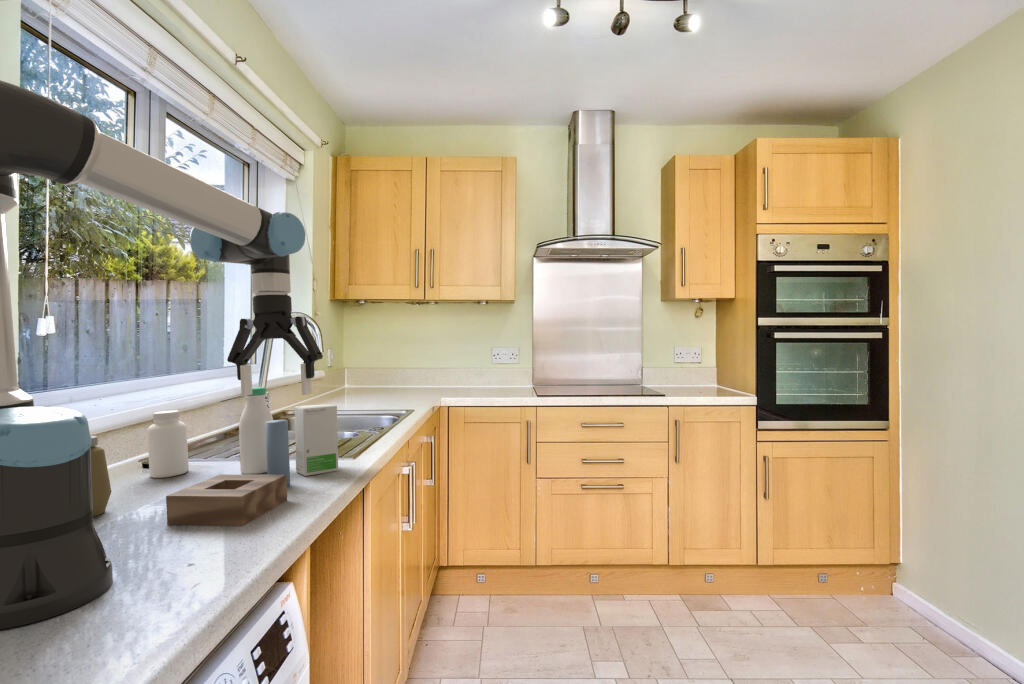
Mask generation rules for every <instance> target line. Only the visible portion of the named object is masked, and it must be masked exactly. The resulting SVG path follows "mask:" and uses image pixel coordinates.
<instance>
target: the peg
mask: <svg viewBox="0 0 1024 684" xmlns="http://www.w3.org/2000/svg"><path fill="white" fill-rule="evenodd" d="M265 428H266V453H267V472H266V473H267V474H266V475H286V482H287V489H288V488H289V487H291V470H290V469H291V467H290V448H289V447H290V443H289V442H290V441H289V420H288V419H273V420H272V421H267V422H265Z"/></svg>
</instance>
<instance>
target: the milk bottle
mask: <svg viewBox="0 0 1024 684" xmlns="http://www.w3.org/2000/svg"><path fill="white" fill-rule="evenodd" d="M266 394H267V389H266V387H261V386H258V387H257V386H256V387H252V395H248V396H244V399H245V405H244V408H243V411H242V413H241V415H240V418H239V422H238V436H239V437H238V438H239V439H238V442H239V465H240V466H239V467H240V473H241V475H261V474H265V473H267V453H266V428H265V422H267V421H272V420H274V418H273V415H272V412H271V410H270V409H269V407H268V405H267V402H266V396H267V395H266Z"/></svg>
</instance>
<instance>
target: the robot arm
mask: <svg viewBox="0 0 1024 684" xmlns="http://www.w3.org/2000/svg"><path fill="white" fill-rule="evenodd" d="M17 174H19V175H29V176H35V177H40V178H43V179H47V180H50V181H53V182H55V183H57V184H59V185H63V186H70V185H73V184H77V183H78V184H81V185H84V186H87V187H89V188H90V189H95V190H96V191H98V192H102V193H104V194H106V195H109V196H112V197H114V198H117V199H120V200H122V201H125V202H128V203H130V204H133V205H135V206H138V207H141V208H144V209H145V210H148V211H151V212H153V213H155V214H158V215H161V216H163V217H167V218H169V219H171V220H173V221H176V222H179V223H181V224H184V225H186V226H189V227H192V229H191V231H190V235H189V239H190V241H189V242H190V243H189V245H190V248H191V250H192V253H193V254H194V256H195V257H196V258H198V259H200V260H203V261H210V262H212V263H218V262H219V263H227V264H229V263H230V264H242V265H249V266H250V274H251V275H250V276H251V277H250V278H251V293H253V294H254V295H253V297H252V311H253V315H254V318H253V319H251V318H240V320H239V328H238V331H237V334H236V336H235V339H234V341H233V344H232V346H231V349H230V352H229V353H228V357H227V359H226V360H227V362H228V363H232V364H234V365H236V373H237V376H236V377H237V380H238V381H240V390H241V391H240V392H241V394H240V395H241V397H245V396H248V395H252V388H253V377H252V376H253V375H252V374H253V373H252V364H250V363H249V361H250V360H251V359H252V357H253V356H254V354H255V353H256V351H257V350H258V349H259V347H260V346H261V344H262V343H263V342H264V341H265V340H269V339H282V340H284V341H285V342H286V343H287V344H288V346H290V347H291V349H292V350H293V351H294V352H295V353H296V354H297V355H298V357H299V358H300V359H301V360H302V361H303V362H302V363H300V381H301V382H300V384H301V385H300V386H301V395H302V396H304V395H311V394H312V393H313V391H312V379H313V378H315V375H316V374H315V363H316V361H319V360H321V359H323V357H324V356H323V353H322V352H321V349H320V348H319V346H318V344H317V341H316V339H315V338H314V336H313V334H312V333H311V332H312V331H311V330H310V329H309V327H308V321H307V317H306V316H301V315H299V316H296V317H292V312H293V311H292V310H293V309H292V307H293V306H292V297H291V296H290V295H289V294H290V293H291V291H292V289H291V270H290V268H291V267H290V266H291V265H290V262H291V261H290V255H293V254H297V253H298V252H299V251H301V250H302V249H303V247H304V245H305V240H306V230H305V229H306V228H305V227H304V225H303V224H304V223H303V222H302V221H301V220H300V218H298V217H297V216H296V215H295V214H293V213H291V212H285V211H284V212H280V211H277V212H274V213H272V212H270V211H269V212H268V211H267V210H264V209H262V208H261V207H258V206H256V205H253V204H252V203H250V202H247V201H245V200H243V199H242V198H239V197H237V196H235V195H233V194H231V193H229V192H227V191H224V190H223V189H220V188H218V187H216V186H214V185H212V184H210V183H208V182H206V181H204V180H201V179H199V178H198V177H195V176H193V175H192V174H189V173H187V172H185V171H183V170H181V169H179V168H177V167H174V166H173V165H170V164H169V163H166V162H164V161H162V160H160V159H158V158H156V157H153V156H151V155H150V154H147V153H146V152H144V151H141V150H139V149H138V148H135V147H133V146H131V145H129V144H126V143H125V142H123V141H121V140H118V139H117V138H114V137H112V136H110V135H108V134H106V133H104V132H102V131H100V129H99V127H98V126H97V124H96V121H94V120H93V119H92V118H91V117H88V116H86V115H84V114H82V113H79V112H77V111H76V110H74V109H73V108H72V109H71V108H70V107H67V106H66V105H64V104H61V103H58V102H57V101H55V100H52V99H50V98H49V97H45V96H43V95H41V94H40V93H36V92H34V91H31V90H28V89H26V88H23V87H21V86H18V85H16V84H13V83H10V82H6V81H3V80H0V630H1V631H2V630H5V629H10V628H15V627H20V626H24V625H28V624H33V623H37V622H39V621H43V620H47V619H49V618H52V617H55V616H56V617H57V616H58V615H61V614H64V613H66V612H69V611H71V610H74V609H76V608H79V607H81V606H82V605H84V604H87V603H89V602H91V601H93V600H95V599H96V598H98V597H99V596H100V595H102V594H104V593H105V592H106V591H107V590H108V589H109V588H110V587H111V586H112V584H113V580H114V579H113V578H114V577H113V564H112V561H111V560H110V558H109V557H108V556H107V553H106V551H105V548H104V545H103V543H102V541H101V539H100V537H99V534H98V532H97V530H96V528H95V525H94V516H93V502H92V473H91V442H92V440H91V436H92V434H91V433H90V427H89V422H88V418H87V417H86V415H85V414H83V413H82V412H80V411H78V410H76V409H72V408H67V407H62V406H61V407H59V406H58V407H57V406H50V407H46V406H41V405H40V406H35V405H34V404H35V403H34V397H33V396H31V395H30V394H28V393H27V392H25V391H24V390H23V389H21V388H20V387H19V385H18V373H17V362H16V348H15V347H16V346H15V337H14V334H15V333H14V324H13V323H14V322H13V311H12V310H13V309H12V296H11V286H10V285H11V284H10V272H9V271H10V270H9V260H8V259H9V258H8V246H7V234H6V222H5V221H6V219H5V215H6V214H7V213H9V211H11V210H12V209H14V208H15V207H17V206H18V204H19V195H18V194H19V193H18V185H17V184H18V183H17ZM292 326H294V328H296V330H297V332H298V334H299V336H300V337H301V340H302V341H303V343H302V342H301V341H300V340H299V339H298V337H297V335H296V334H295V332H294V331H293V330H292V329H291V328H292ZM254 328H255V331H254V333H253V334H252V335H251V332H252V329H254ZM250 335H251V338H250ZM249 338H250V340H249ZM248 340H249V342H248ZM247 342H248V343H247Z"/></svg>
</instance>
